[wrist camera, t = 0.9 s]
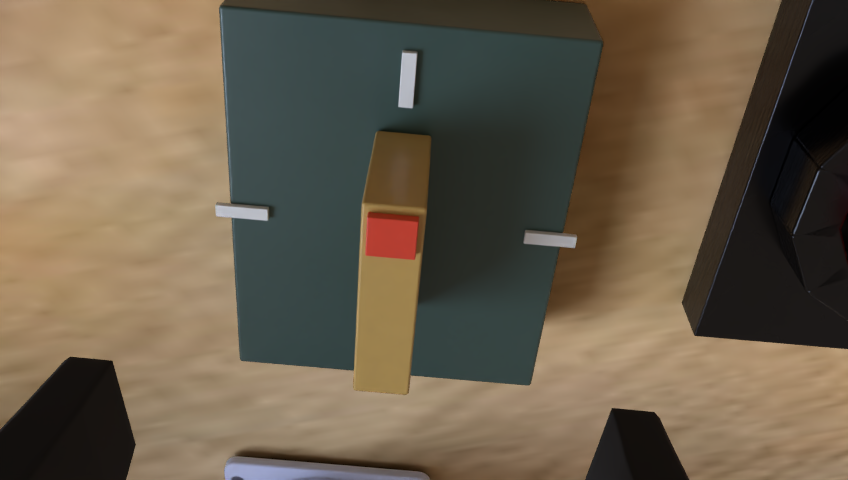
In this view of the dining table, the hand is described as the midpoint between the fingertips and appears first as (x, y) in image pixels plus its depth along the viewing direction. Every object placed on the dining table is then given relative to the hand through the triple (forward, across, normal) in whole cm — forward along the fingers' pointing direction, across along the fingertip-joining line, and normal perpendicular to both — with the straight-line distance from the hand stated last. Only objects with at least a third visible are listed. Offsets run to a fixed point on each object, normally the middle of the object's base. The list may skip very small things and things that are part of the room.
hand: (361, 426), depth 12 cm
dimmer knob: (+9, 0, +4) cm, 10 cm away
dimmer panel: (+12, 0, +4) cm, 13 cm away
